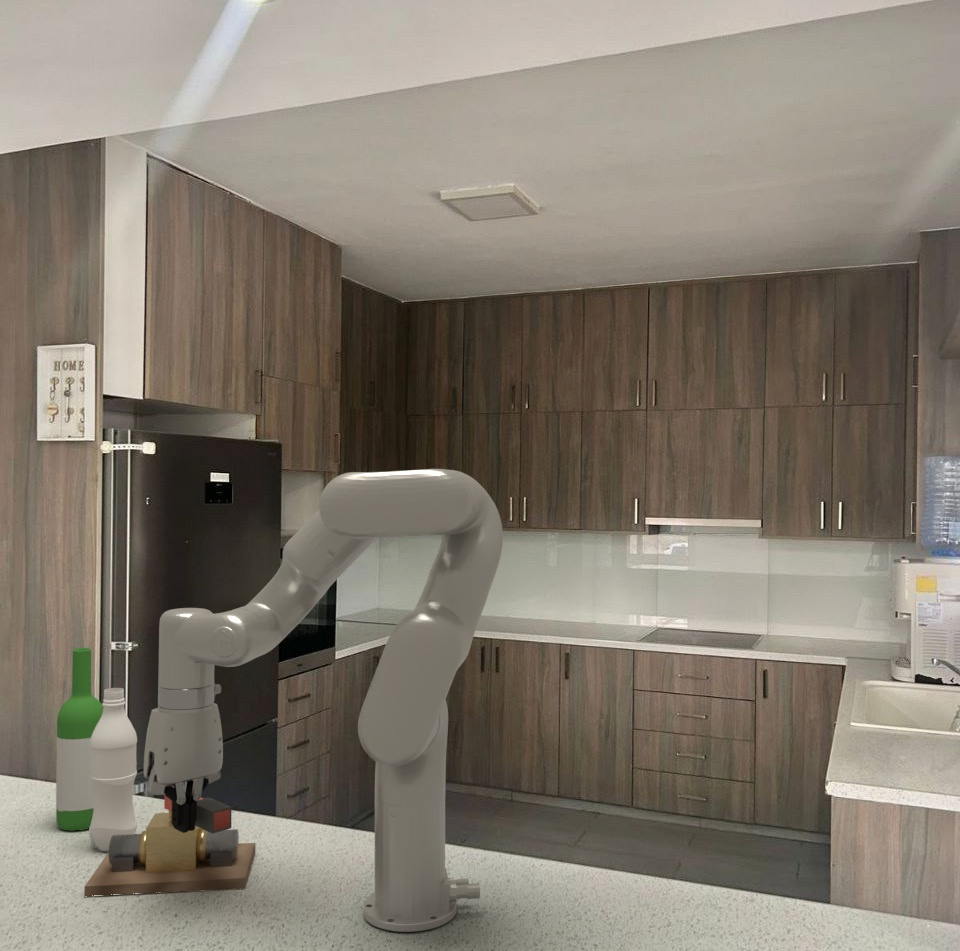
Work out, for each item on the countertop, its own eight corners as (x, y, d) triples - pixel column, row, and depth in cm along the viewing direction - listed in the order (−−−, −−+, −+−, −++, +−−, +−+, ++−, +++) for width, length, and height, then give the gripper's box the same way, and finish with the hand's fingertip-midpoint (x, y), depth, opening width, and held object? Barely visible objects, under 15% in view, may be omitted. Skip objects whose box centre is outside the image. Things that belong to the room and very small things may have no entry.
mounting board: (255, 852, 150) (255, 842, 150) (245, 888, 136) (245, 878, 136) (110, 859, 147) (110, 849, 147) (84, 897, 134) (84, 886, 134)
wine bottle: (89, 833, 159) (90, 653, 159) (46, 831, 160) (47, 652, 161) (114, 818, 166) (115, 645, 167) (73, 816, 168) (74, 644, 168)
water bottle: (144, 838, 156) (145, 685, 157) (124, 854, 149) (124, 694, 150) (102, 837, 157) (103, 684, 158) (80, 853, 150) (81, 693, 151)
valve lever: (180, 813, 144) (181, 786, 144) (231, 836, 134) (231, 806, 134) (162, 818, 142) (162, 790, 142) (212, 841, 132) (212, 811, 132)
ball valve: (239, 852, 146) (239, 809, 146) (234, 868, 140) (234, 823, 140) (117, 858, 144) (117, 815, 144) (106, 875, 138) (106, 829, 138)
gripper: (219, 686, 142) (217, 810, 141) (122, 701, 131) (120, 835, 130) (247, 693, 136) (245, 823, 136) (149, 710, 126) (146, 850, 125)
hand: (184, 828), depth 133 cm, fingers closed
